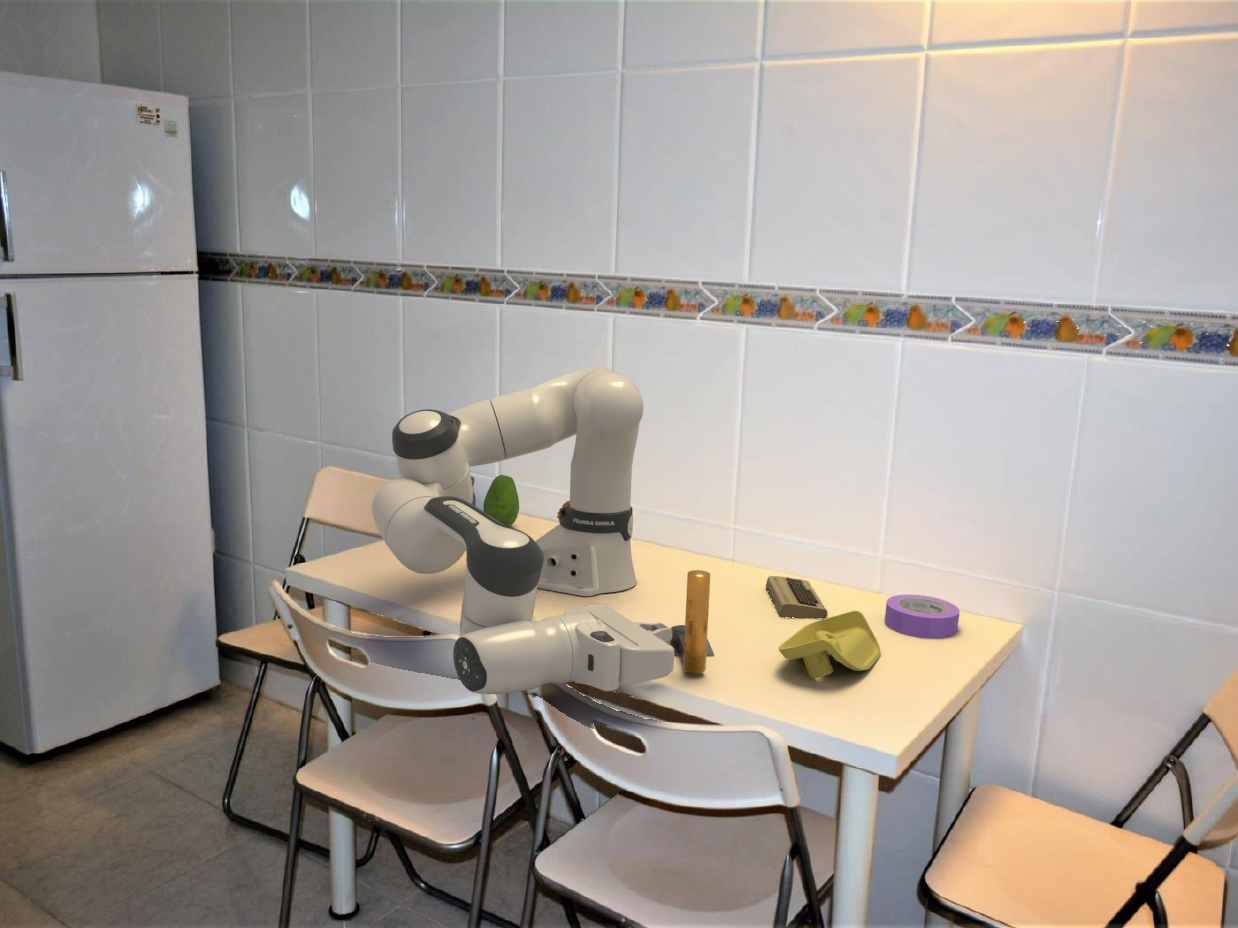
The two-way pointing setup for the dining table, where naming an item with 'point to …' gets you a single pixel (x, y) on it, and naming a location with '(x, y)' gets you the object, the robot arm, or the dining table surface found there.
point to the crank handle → (694, 623)
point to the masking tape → (922, 616)
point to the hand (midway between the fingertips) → (666, 631)
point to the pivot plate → (677, 653)
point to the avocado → (502, 500)
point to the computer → (795, 598)
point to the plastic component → (834, 644)
